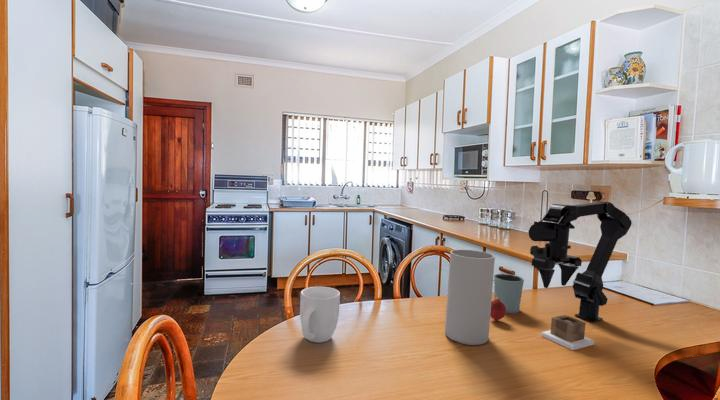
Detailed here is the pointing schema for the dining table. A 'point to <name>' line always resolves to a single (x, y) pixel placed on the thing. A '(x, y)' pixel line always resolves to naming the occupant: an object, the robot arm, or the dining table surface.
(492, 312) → the onion
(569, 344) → the post base
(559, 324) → the collar
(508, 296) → the grey-blue tapered cup
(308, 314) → the mug
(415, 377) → the dining table surface
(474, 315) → the cylinder vase
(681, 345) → the dining table surface
